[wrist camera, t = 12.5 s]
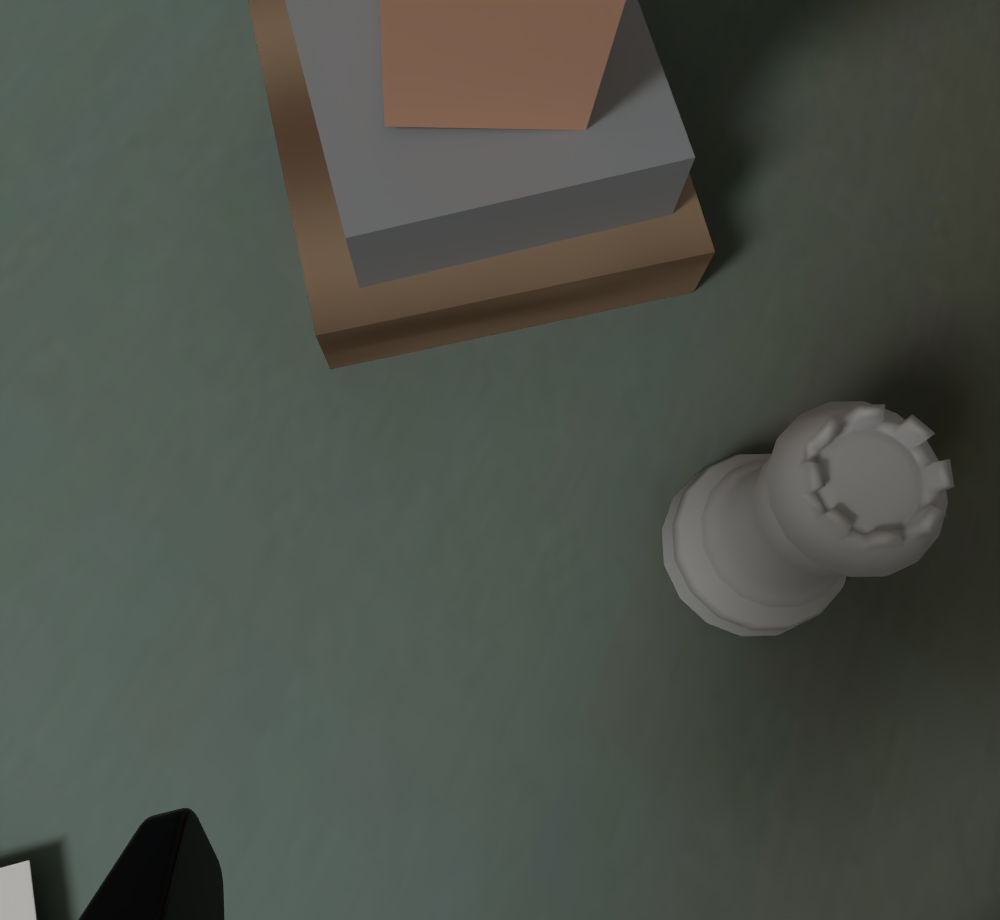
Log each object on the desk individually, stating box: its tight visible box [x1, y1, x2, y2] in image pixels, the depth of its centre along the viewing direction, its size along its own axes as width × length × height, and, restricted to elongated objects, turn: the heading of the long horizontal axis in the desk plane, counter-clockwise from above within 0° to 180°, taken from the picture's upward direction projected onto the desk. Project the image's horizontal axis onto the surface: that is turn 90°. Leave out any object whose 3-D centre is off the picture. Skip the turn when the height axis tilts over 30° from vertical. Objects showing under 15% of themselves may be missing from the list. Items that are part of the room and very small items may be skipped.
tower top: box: [285, 0, 695, 288], centre depth 22 cm, size 8×8×2 cm
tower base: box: [248, 0, 715, 369], centre depth 25 cm, size 10×10×3 cm
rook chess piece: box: [662, 401, 954, 636], centre depth 19 cm, size 4×4×8 cm
